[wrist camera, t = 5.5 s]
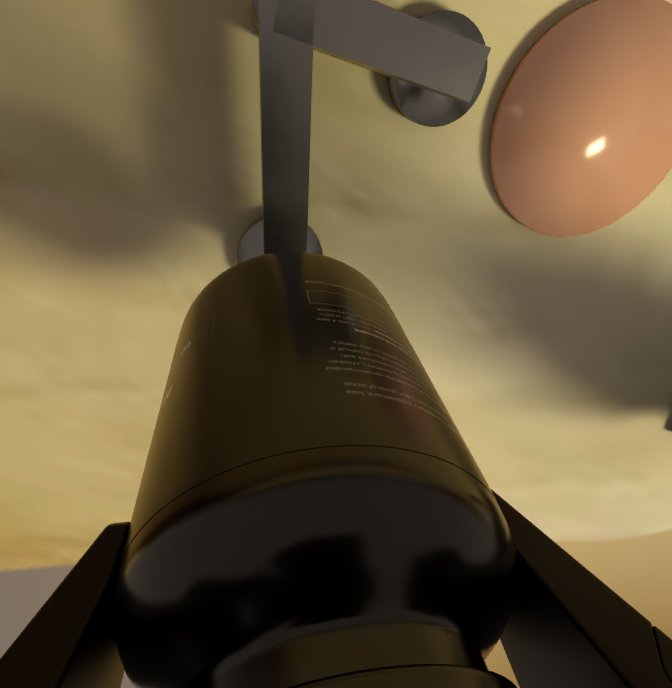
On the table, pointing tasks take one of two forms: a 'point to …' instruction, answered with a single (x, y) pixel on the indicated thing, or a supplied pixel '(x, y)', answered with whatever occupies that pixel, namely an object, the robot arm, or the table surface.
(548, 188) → the peach domed disc
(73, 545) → the table surface
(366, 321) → the supplement bottle
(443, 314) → the table surface
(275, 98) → the jointed grey bar linkage
